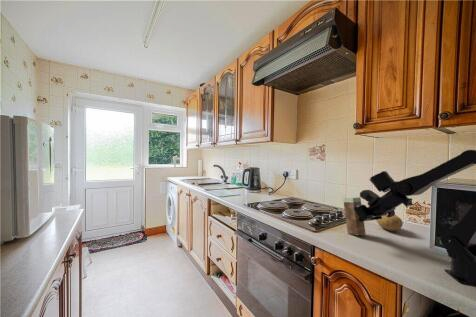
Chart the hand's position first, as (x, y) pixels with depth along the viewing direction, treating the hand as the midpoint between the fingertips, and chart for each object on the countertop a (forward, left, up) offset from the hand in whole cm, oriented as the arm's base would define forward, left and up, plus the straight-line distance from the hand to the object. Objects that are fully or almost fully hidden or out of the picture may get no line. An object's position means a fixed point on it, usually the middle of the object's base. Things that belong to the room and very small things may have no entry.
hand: (360, 220), depth 89 cm
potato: (+15, -16, -7) cm, 23 cm away
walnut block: (+1, +1, -7) cm, 7 cm away
